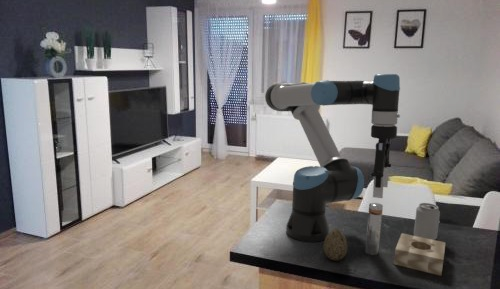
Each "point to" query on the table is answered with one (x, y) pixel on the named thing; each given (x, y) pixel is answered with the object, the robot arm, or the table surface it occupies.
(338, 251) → the decorative egg
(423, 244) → the collar
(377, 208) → the tube
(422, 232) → the can
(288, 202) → the table surface
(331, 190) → the robot arm
